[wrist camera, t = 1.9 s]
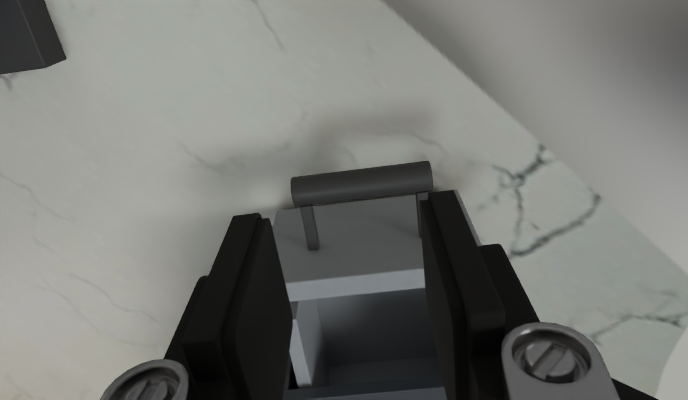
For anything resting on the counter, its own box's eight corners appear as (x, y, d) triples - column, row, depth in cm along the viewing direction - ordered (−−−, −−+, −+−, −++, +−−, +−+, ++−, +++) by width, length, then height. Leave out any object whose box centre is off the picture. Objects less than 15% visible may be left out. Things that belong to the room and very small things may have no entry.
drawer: (262, 148, 29) (236, 212, 22) (455, 123, 29) (489, 182, 22) (311, 364, 38) (304, 459, 31) (462, 349, 37) (489, 444, 30)
